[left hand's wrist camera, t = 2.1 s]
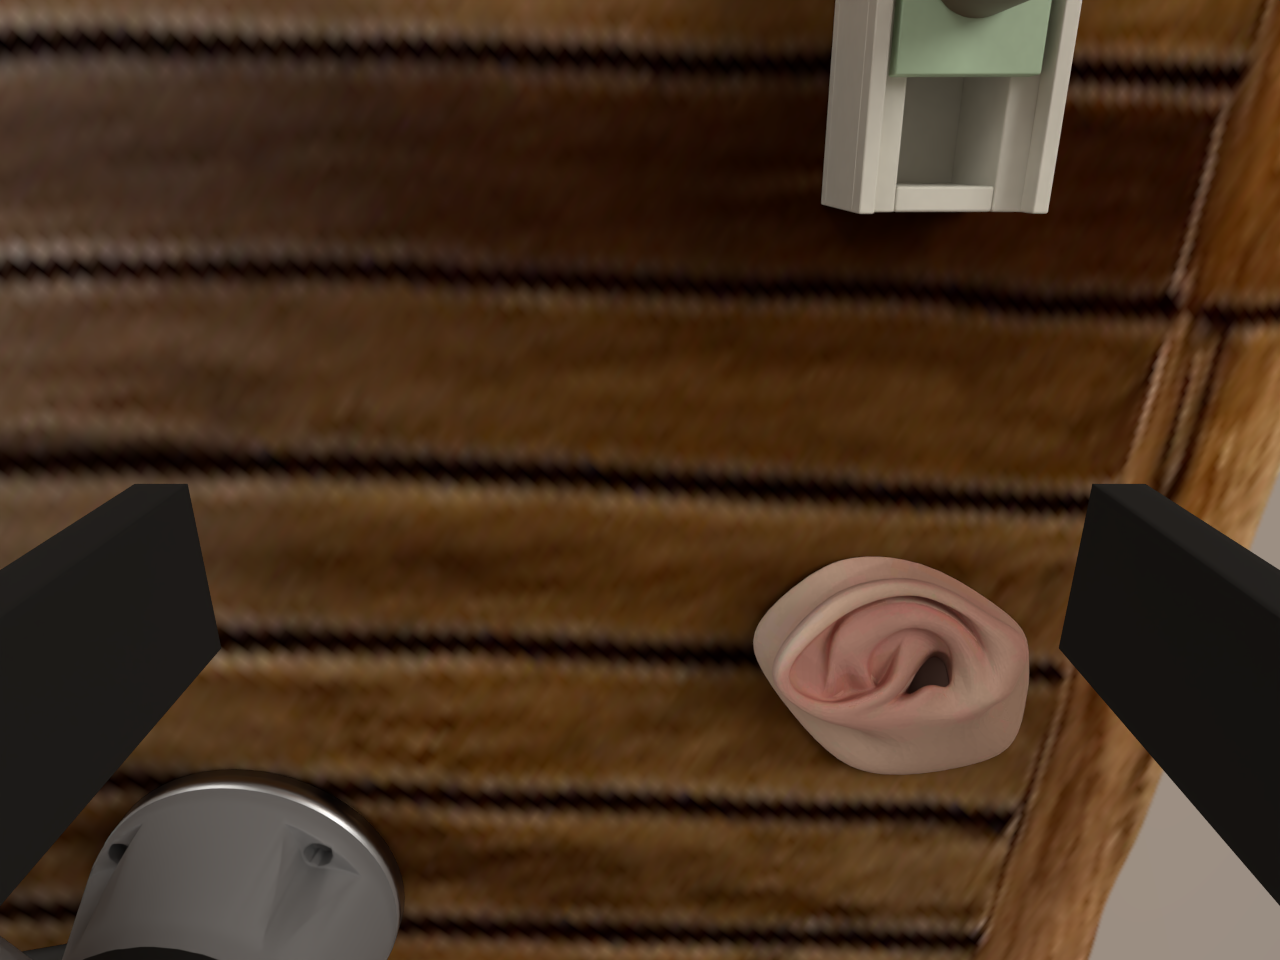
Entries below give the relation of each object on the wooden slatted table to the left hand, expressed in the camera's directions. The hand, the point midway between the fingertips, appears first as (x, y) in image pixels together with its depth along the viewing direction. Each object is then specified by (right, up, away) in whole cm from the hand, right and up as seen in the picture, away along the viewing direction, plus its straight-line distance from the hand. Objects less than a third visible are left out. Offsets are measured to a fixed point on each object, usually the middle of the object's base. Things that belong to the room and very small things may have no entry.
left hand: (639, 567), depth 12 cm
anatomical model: (+12, -7, +27) cm, 31 cm away
